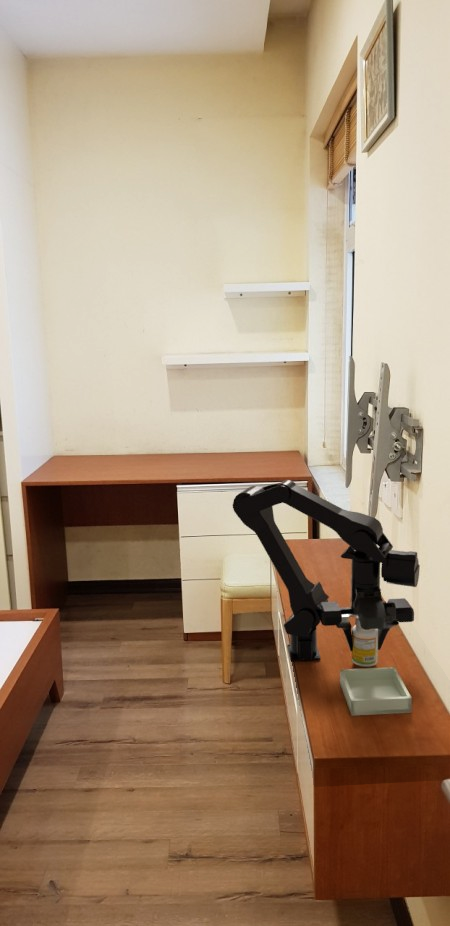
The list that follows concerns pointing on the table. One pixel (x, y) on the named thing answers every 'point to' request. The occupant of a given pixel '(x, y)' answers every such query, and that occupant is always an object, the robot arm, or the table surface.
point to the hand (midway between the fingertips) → (364, 649)
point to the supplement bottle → (364, 645)
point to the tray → (374, 691)
